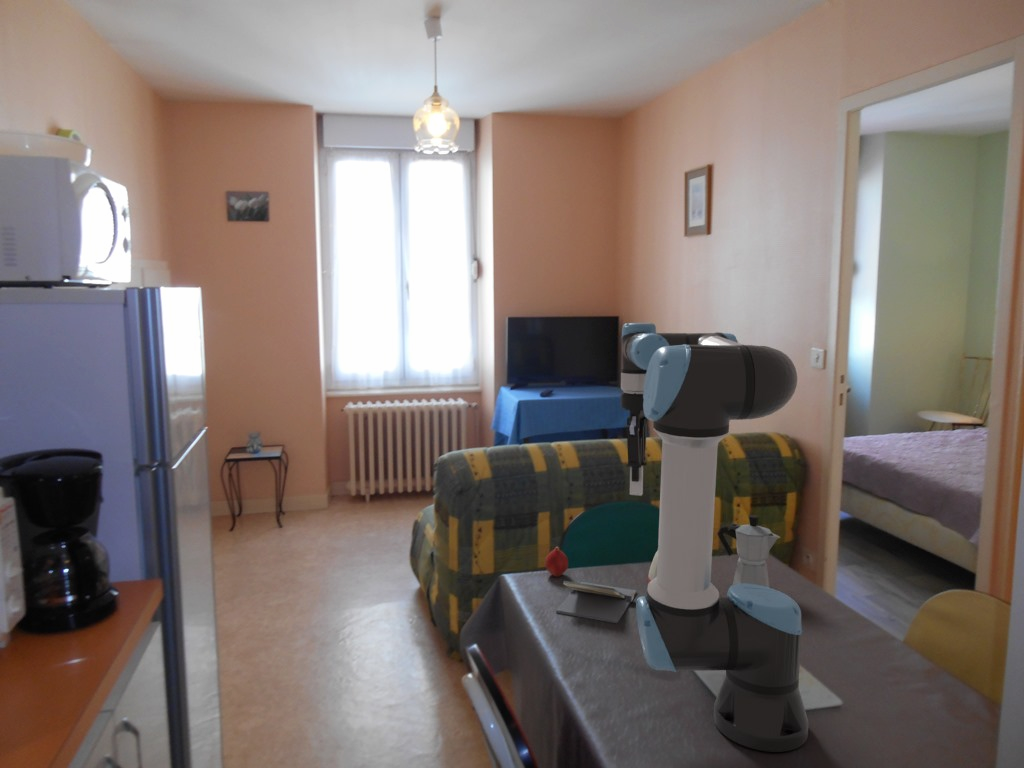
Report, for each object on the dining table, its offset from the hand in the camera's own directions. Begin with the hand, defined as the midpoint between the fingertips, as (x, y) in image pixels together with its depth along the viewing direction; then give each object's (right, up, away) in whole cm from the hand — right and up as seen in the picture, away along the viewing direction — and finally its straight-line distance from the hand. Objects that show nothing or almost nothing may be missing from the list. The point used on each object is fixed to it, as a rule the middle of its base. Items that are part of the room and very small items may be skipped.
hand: (636, 494), depth 164 cm
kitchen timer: (+12, -25, +13) cm, 30 cm away
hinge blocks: (-7, -25, +5) cm, 26 cm away
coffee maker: (+29, -25, +12) cm, 40 cm away
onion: (-17, -24, +18) cm, 34 cm away
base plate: (-9, -25, +2) cm, 27 cm away
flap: (-9, -21, 0) cm, 23 cm away
